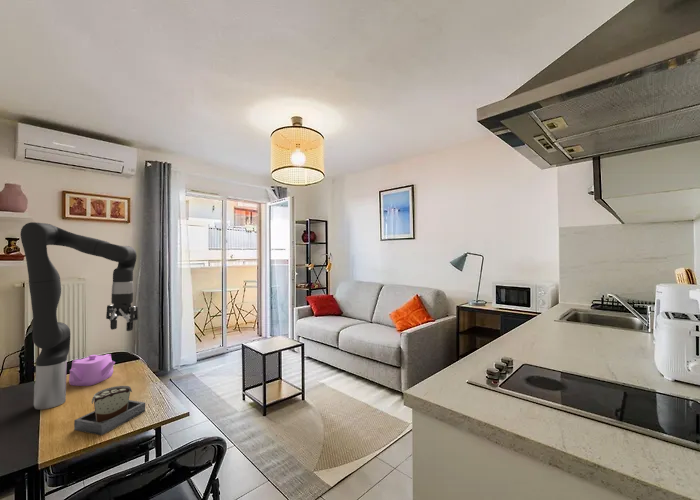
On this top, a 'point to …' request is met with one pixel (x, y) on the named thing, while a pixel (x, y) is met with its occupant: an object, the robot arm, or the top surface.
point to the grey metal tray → (91, 426)
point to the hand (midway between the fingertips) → (121, 329)
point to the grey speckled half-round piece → (111, 402)
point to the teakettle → (91, 370)
